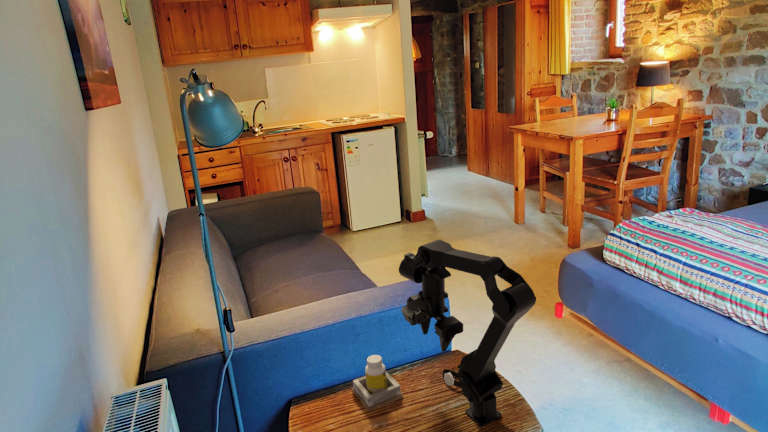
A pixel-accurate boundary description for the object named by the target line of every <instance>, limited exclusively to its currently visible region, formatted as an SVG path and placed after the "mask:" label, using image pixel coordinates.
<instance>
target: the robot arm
mask: <svg viewBox="0 0 768 432" xmlns="http://www.w3.org/2000/svg"><path fill="white" fill-rule="evenodd" d="M403 257H404V258H403V259H401V262H400V264H399V266H398V273H399V274H400V276H401V277H403V278H405V279H408V280H409V281H411V282H414V283H416V284H421V290H420V291H418V293H417V294H415V295H414V294H413V295H410V296H408V298H407V300H406V304H405V305H404V306H403V307H401V309H400V311H401V313H402V316H403V318H404V319H405V321H407V322H408V324H409V325H410V326H416V325H419V326H420V328H421V331H422V332H421V333H422V334H423V335H424V336H425V335H427V334H428V333H429V330H430V326H431V320H432V318H433V319H434V320H435V321H436V322H435V323H434V330H435V331H434V334H436V335H437V336H438V337H439V343H440V350H441V352H442V353H443V352H446V351H447V350H448V348H449V346H450V345H451V343H452V340H453V339H454V338H455V336H456V335H458V334H461V333H463V332H464V323H463V322H461V321H460V320H459V319H458V318H456V317H455V316H454V315H451V316H448V317H447V315H445V313H448V312H449V307H448V306H446V304H445V303H446V301H445V300H446V299H447V298H449V293H448V292H447V291H445V288H446V287H445V284H446V283H445V281H446V279H447V278H449V277H451V276H452V273H451V272H450V271H449V270H448V269H452V270H454V271H455V270H456V271H460V272H462V273H463V272H464V273H467V274H471V275H475V276H479V277H480V278H481V279H482V281H483V282H484V286H485V287H484V288H485V292H486V296H487V297H488V298H489V299H488V300H490V301H491V303H492V305H491V311H492V313H493V317H492V319H491V321H490V323H489V325H488V327H487V329H486V331H485V333H484V335H483V336H482V338H481V341H480V342H479V344H478V347H477V348H476V349H474V350H473V351H471V352H469V353H467V354H466V355H464V356H462V358H461V359H460V364H458V366H457V369H458V370H457V373H458V378H459V379H458V381H459V382H460V385H461V387H460V388H461V391H462V392H461V393H462V394H463V396H464V397H465V398H466V399H467V402H469V407H468V408H466V409H464V410H465V411H464V412H465V413H466V414H467V415H468V416H469V417H470V418H471V419H472V420H473V421H474V422H475V423H477V424H478V425H479V426H481V427H483V426H485V425H487V424H490V423H491V422H494V421H495V420H497V419H500V418H501V417H503V415H502V413H501V412H500V411H499V410H497V396H496V392H498V391H500V390H502V388H503V385H504V382H503V381H502V379H501V378H500V375H498V373H497V371H496V370H497V369H496V368H497V365H496V362H495V360H496V358H497V357H498V354H499V353H500V351H501V349H502V348H503V345H504V344H505V342H506V340H507V338H508V336H509V335H510V333H511V332H512V330H513V328H514V326H515V324H516V323H517V322H518V321H519V320H520V319H521V318H523V317H524V316H525V315H526V314H527V313H528V312H529V311H530V310H531V309H532V308H533V307H534V306H535V305H536V302H537V297H536V295H535V292H534V290H533V289H532V287H531V286H530V285H529V284H528V282H527V281H526V280H525V278H524V277H523V276H522V275H521V274H520V273H518V272H517V271H515V270H514V269H512V268H511V267H509V266H507V265H508V264H506V263H505V261H504V260H503V259H502V258H501V257H499V256H495V255H494V256H490V255H485V254H481V253H480V254H479V253H476V252H472V251H466V250H461V249H457V248H454V247H453V246H452V245H451V243H449V242H446V241H445V240H442V239H435V240H433V241H431V242H427V243H426V244H422V245H420V246H418V248H417V253H416V254H414V253H413V252H407V253H405V254H404V256H403ZM447 268H448V269H447ZM496 276H498V277H499V278H500V279H502V280H503V281H505V282H507V283H508V284H509V285H511V286H509V287H507V288H505V289H503V290H500V288H499V287H498V285H497V284H498V283H497V280H496Z"/></svg>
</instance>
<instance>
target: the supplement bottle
mask: <svg viewBox="0 0 768 432" xmlns="http://www.w3.org/2000/svg"><path fill="white" fill-rule="evenodd" d="M364 368H365V369H364V371H365V372H364V373H365V376H366V383H367V392H368V393H369V394H373V393H375V392H378V391H380V390H383V389H385V388H387V380H386V372H387V370H386V365H385V364H384V363H383V357H382V356H381V355H378V354H372V355H369V356H368V357H367V359H366V366H365V367H364Z"/></svg>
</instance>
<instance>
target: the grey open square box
mask: <svg viewBox="0 0 768 432" xmlns="http://www.w3.org/2000/svg"><path fill="white" fill-rule="evenodd" d="M386 380H387V388H385V389H383V390H380V391H378V392H375V393H373V394H369V393H368V392H367V383H366V375H364V376H361V377H357V378H356V379H353V380H352V386H353V387H352V388H351V389H352V391H351V392H353V394H354V395H355V396H356V398H357V399H358V400H359V401H360V403H361V404H362V405H363V406H364V408H365V409H366V410H367V412H371V411H374V410H376V409H378V408H381V407H383V406H385V405H386V406H387V405H388V404H390V403H391V404H392V403H393V402H395V401H397V400H401V399H403V396H404V395H403V393H402V391H401V384H399V383H398V382H397V381H396V380H395V379H394V378H393V377H392V376H391V374H389V373H388V372H387V371H386Z"/></svg>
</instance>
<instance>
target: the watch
mask: <svg viewBox="0 0 768 432" xmlns="http://www.w3.org/2000/svg"><path fill="white" fill-rule="evenodd" d="M453 376H455V377H457V378H458V371H457V372H456V371H455V370H451V369H448V368H445V369H442V378H443V380H444V383H445V385H447V386H455V387H457V388H461V385H460V382H459V380H456V379H457V378H456V379H455V377H453Z"/></svg>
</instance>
